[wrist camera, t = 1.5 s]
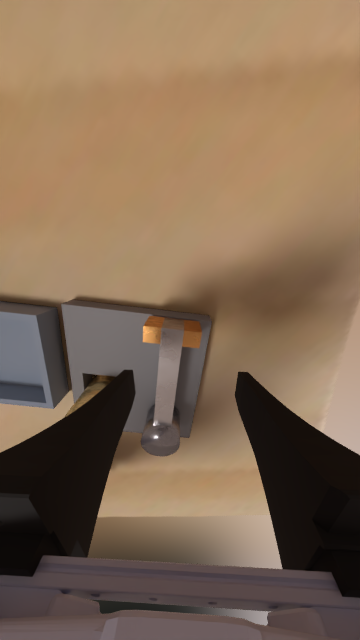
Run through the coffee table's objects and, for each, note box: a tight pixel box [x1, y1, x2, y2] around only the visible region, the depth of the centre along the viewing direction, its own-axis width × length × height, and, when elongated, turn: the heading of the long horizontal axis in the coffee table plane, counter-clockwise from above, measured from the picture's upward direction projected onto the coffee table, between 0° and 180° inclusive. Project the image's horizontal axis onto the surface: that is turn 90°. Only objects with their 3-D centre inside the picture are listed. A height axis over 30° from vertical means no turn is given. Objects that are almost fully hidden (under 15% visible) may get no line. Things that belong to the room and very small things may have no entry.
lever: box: [141, 316, 202, 456], centre depth 19 cm, size 16×5×4 cm, turn 173°
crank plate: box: [61, 300, 212, 438], centre depth 22 cm, size 18×16×2 cm
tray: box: [0, 301, 69, 409], centre depth 20 cm, size 13×13×3 cm
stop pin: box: [65, 375, 115, 417], centre depth 20 cm, size 4×4×6 cm
